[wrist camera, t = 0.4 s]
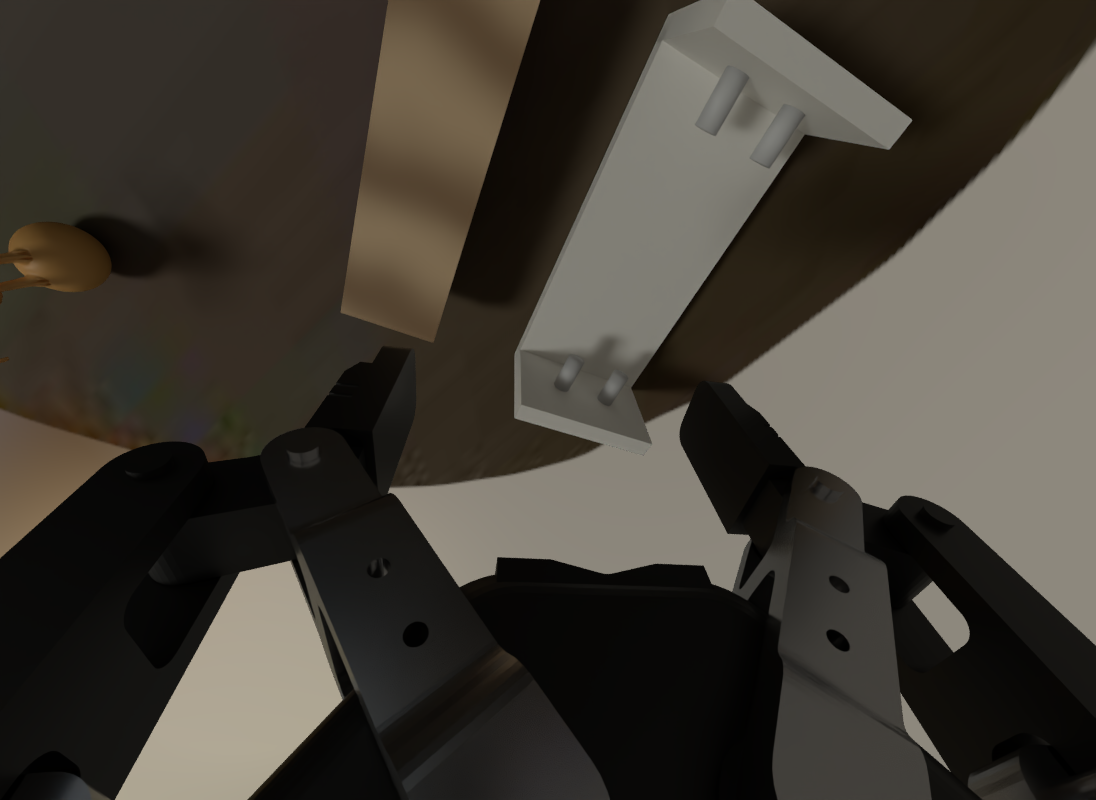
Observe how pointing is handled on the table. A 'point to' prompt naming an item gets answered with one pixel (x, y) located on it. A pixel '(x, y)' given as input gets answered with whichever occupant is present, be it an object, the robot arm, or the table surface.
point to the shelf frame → (677, 204)
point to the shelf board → (429, 152)
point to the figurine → (56, 259)
